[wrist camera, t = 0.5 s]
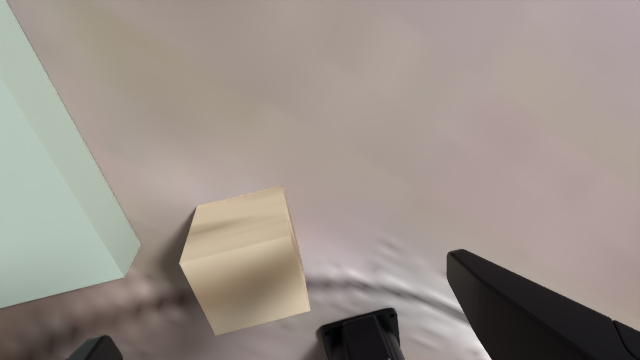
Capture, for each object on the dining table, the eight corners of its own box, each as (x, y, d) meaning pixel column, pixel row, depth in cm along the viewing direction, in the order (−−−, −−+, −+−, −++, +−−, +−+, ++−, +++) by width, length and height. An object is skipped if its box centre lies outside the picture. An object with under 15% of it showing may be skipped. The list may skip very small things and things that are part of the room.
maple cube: (299, 250, 24) (310, 310, 19) (224, 269, 24) (215, 335, 19) (282, 185, 21) (289, 235, 16) (197, 205, 21) (179, 263, 16)
